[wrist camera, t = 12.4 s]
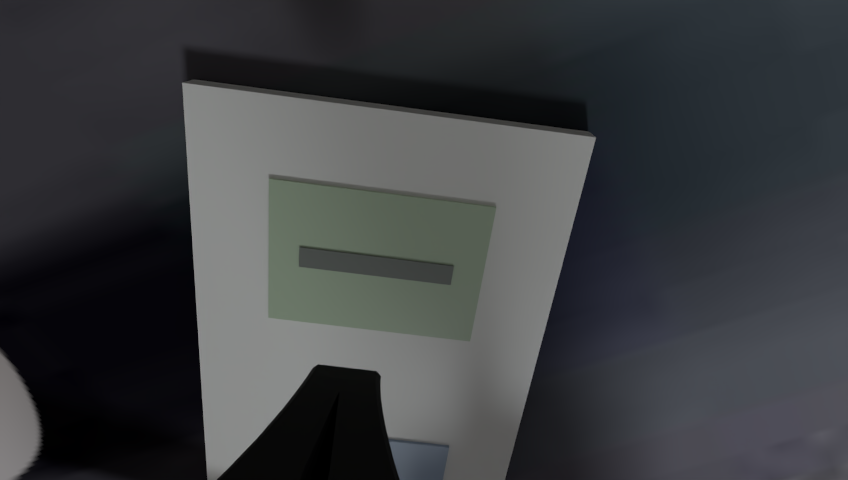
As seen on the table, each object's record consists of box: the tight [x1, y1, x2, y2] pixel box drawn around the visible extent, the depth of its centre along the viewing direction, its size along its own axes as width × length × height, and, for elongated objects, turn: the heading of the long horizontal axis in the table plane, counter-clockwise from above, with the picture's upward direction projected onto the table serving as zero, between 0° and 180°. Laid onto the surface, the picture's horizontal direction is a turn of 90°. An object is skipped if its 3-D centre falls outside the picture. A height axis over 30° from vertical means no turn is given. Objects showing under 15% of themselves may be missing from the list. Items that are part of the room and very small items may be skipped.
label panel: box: [182, 79, 596, 480], centre depth 20 cm, size 12×24×1 cm, turn 173°
